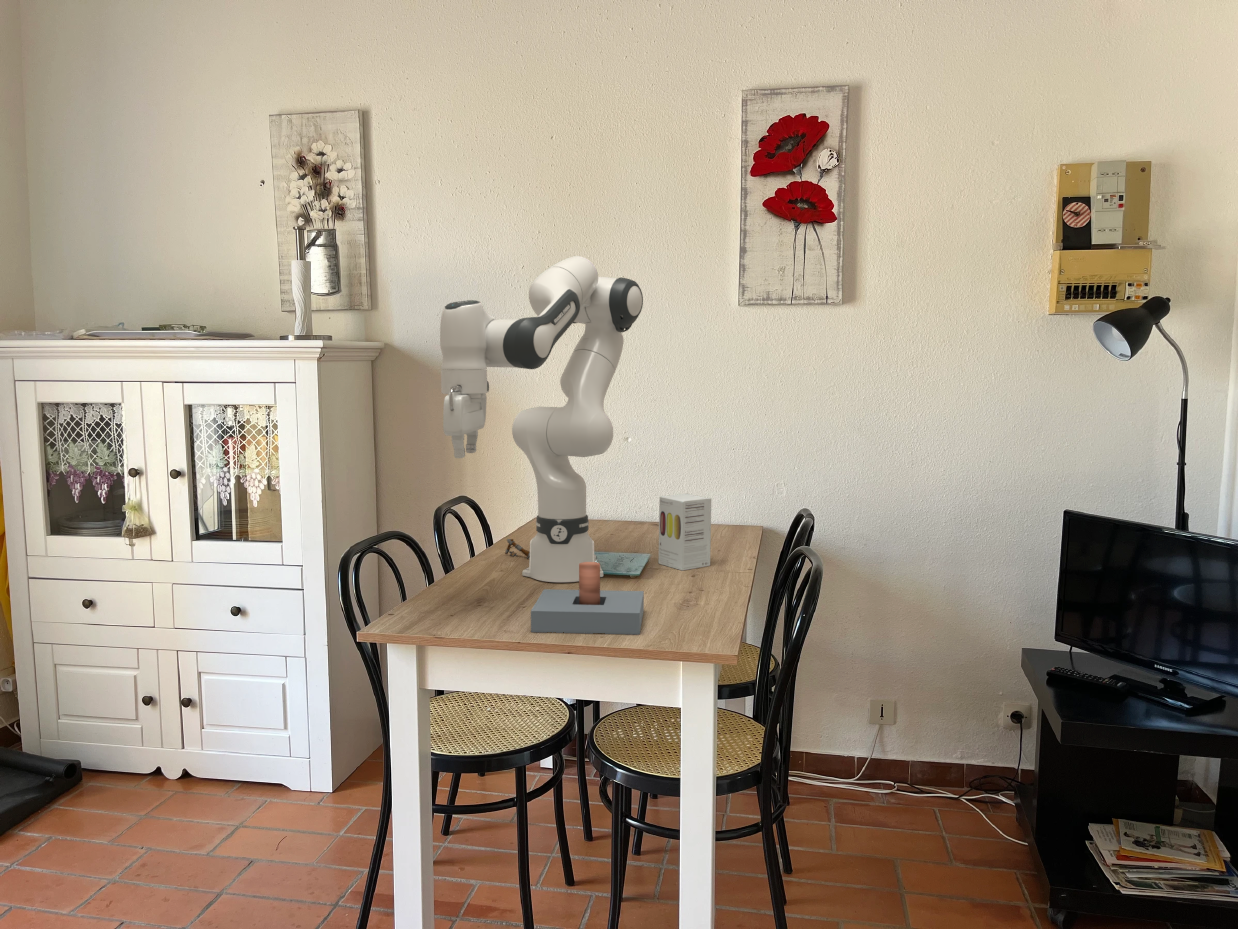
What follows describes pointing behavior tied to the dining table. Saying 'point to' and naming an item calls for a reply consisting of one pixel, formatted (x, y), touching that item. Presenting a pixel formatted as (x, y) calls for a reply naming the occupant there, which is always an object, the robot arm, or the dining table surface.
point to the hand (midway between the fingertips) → (465, 455)
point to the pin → (589, 583)
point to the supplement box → (684, 531)
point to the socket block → (588, 612)
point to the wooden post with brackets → (516, 548)
